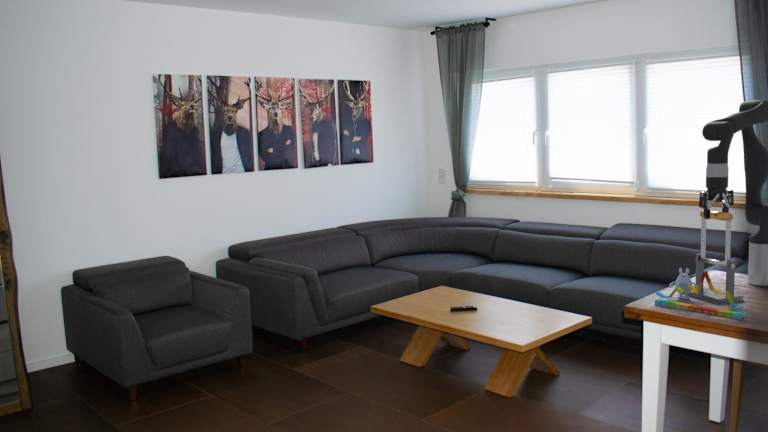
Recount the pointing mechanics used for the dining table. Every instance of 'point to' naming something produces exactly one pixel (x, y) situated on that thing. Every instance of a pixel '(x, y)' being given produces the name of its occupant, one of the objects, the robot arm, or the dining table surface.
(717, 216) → the lever
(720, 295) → the lever stand
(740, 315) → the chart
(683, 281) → the toy figure
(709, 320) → the dining table surface
